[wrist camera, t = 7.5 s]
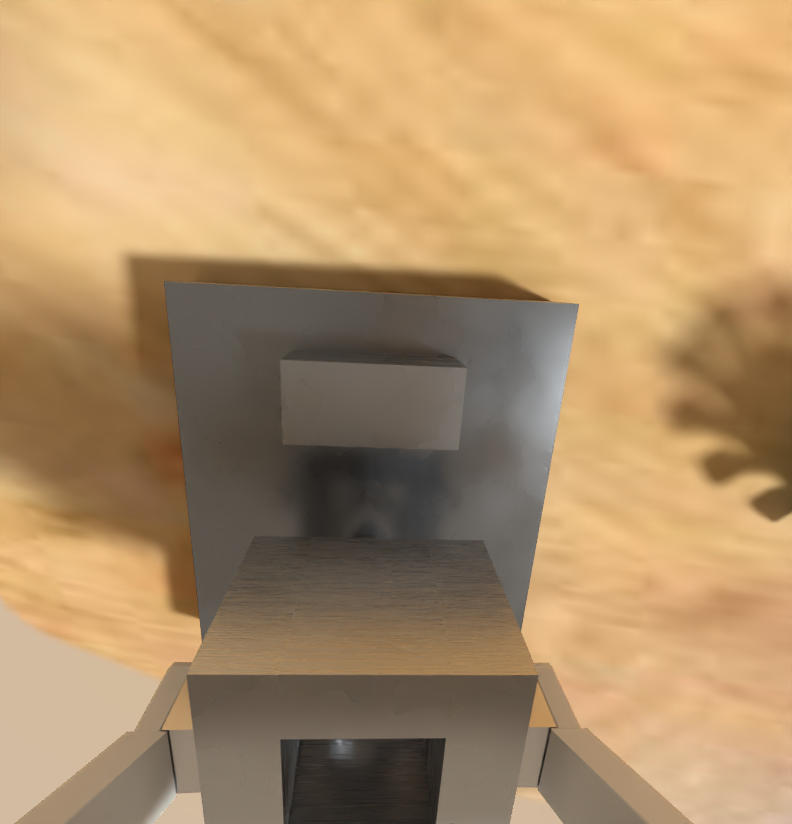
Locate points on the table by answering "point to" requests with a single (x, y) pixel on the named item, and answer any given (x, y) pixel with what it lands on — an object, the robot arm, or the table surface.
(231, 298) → the shaft stand
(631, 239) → the table surface
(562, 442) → the table surface
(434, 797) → the collar
